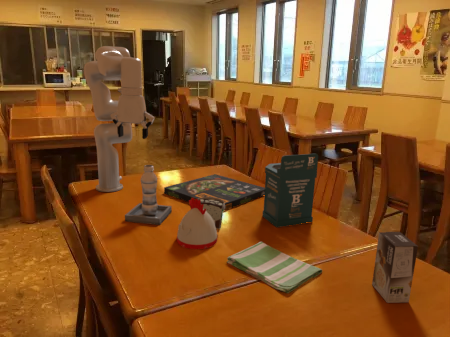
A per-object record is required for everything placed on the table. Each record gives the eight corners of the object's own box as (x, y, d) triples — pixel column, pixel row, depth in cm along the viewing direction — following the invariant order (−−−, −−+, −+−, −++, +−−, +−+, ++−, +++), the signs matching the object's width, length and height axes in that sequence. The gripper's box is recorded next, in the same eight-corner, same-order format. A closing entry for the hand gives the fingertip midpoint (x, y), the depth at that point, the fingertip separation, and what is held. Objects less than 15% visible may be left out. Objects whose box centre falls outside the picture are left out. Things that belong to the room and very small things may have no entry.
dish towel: (286, 297, 99) (287, 288, 99) (224, 264, 115) (224, 256, 115) (322, 273, 112) (323, 265, 111) (261, 246, 127) (262, 239, 127)
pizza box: (267, 195, 181) (267, 188, 180) (218, 214, 156) (218, 206, 155) (214, 180, 203) (214, 174, 202) (164, 194, 178) (164, 187, 177)
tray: (139, 208, 157) (139, 203, 157) (171, 211, 155) (171, 206, 154) (125, 221, 144) (124, 215, 143) (159, 224, 142) (159, 218, 141)
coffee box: (410, 302, 98) (420, 246, 94) (386, 303, 97) (395, 246, 93) (392, 283, 107) (400, 231, 102) (370, 283, 106) (377, 231, 102)
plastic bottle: (160, 212, 152) (159, 164, 147) (155, 218, 146) (154, 168, 141) (144, 210, 153) (143, 163, 148) (139, 217, 146) (137, 167, 141)
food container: (230, 224, 144) (230, 199, 142) (223, 230, 139) (224, 204, 136) (201, 218, 149) (202, 194, 147) (194, 223, 144) (194, 199, 141)
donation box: (276, 227, 143) (281, 155, 136) (257, 212, 157) (261, 147, 150) (312, 222, 148) (318, 153, 141) (291, 208, 163) (296, 145, 156)
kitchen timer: (199, 228, 140) (199, 190, 136) (225, 241, 130) (226, 200, 126) (169, 239, 130) (168, 198, 126) (194, 253, 121) (195, 209, 117)
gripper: (105, 91, 137) (107, 137, 142) (150, 94, 135) (150, 141, 139) (114, 90, 144) (116, 134, 149) (157, 92, 142) (157, 137, 146)
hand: (132, 137), depth 144 cm, fingers open, 9 cm apart
